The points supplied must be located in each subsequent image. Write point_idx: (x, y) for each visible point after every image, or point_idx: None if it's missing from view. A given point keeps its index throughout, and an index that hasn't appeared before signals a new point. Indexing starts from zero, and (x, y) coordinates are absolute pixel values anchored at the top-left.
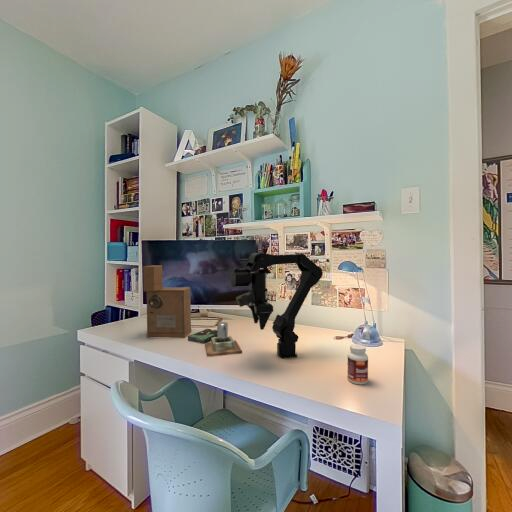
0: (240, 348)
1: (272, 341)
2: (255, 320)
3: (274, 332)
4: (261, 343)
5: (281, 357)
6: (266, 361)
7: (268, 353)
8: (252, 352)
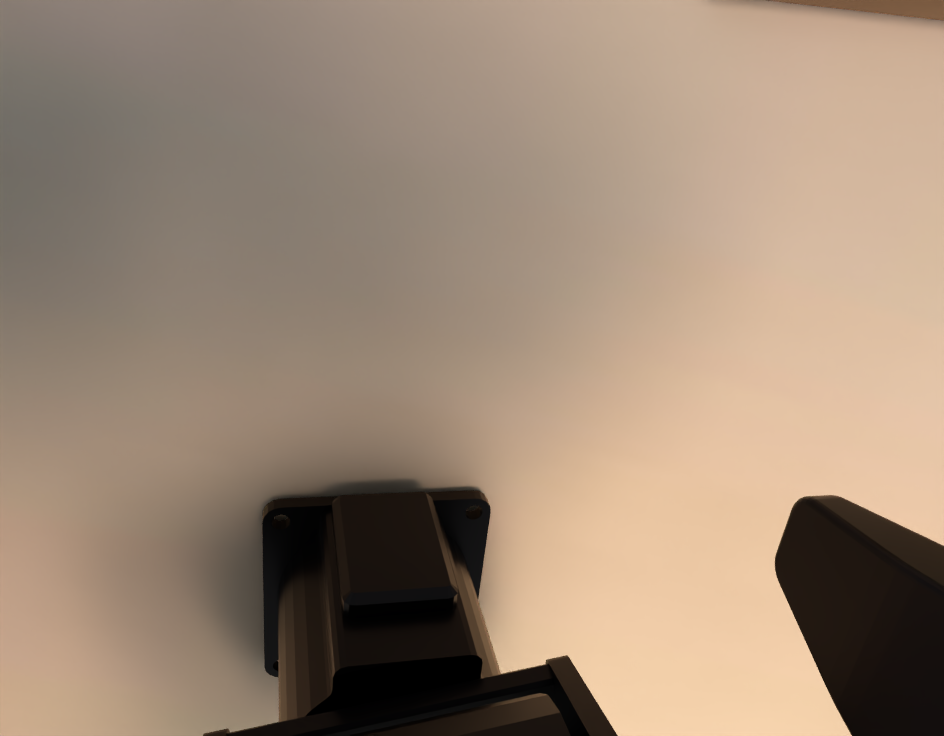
0: (839, 6)
1: None
2: (857, 592)
3: (514, 710)
4: (896, 396)
5: (285, 501)
6: (228, 276)
7: (519, 386)
8: (657, 179)
